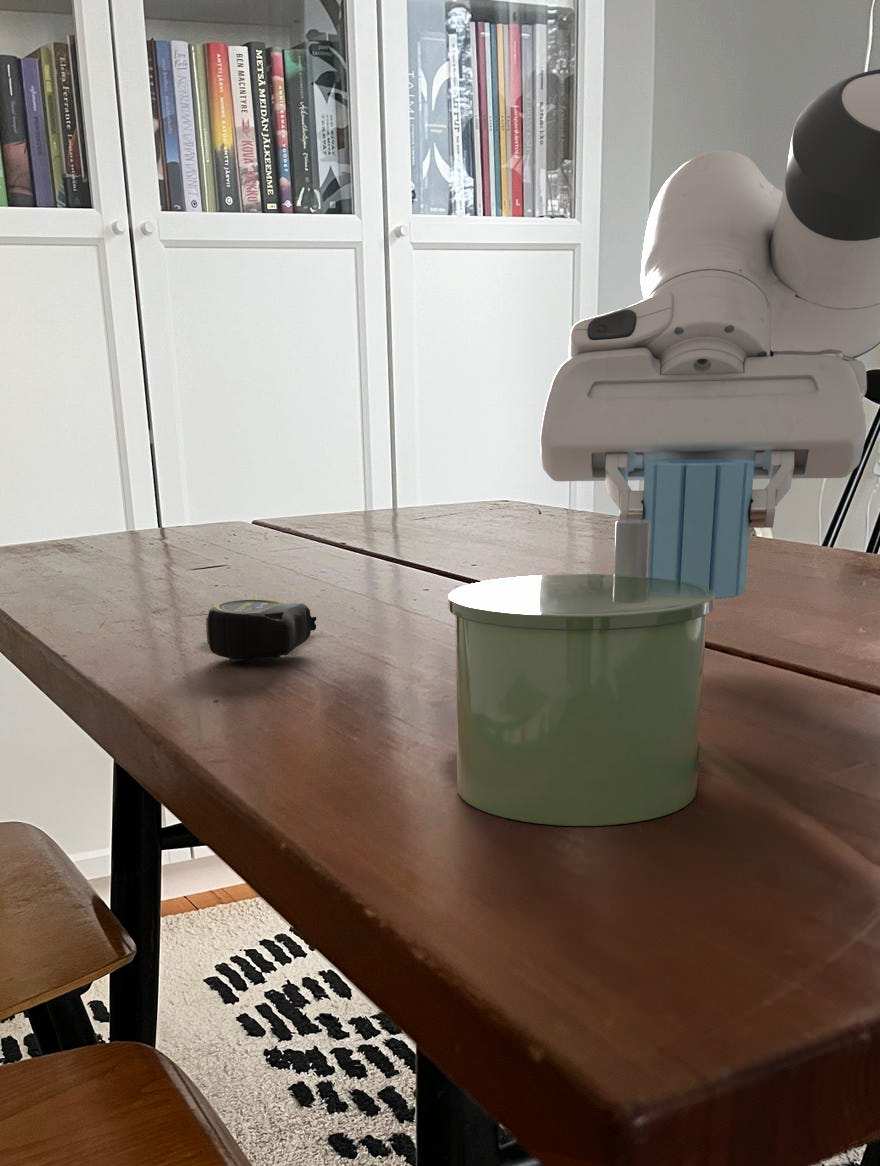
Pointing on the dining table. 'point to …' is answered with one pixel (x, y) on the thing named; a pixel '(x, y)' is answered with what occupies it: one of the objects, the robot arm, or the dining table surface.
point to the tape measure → (257, 628)
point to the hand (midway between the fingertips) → (695, 522)
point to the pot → (581, 691)
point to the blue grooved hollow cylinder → (700, 521)
